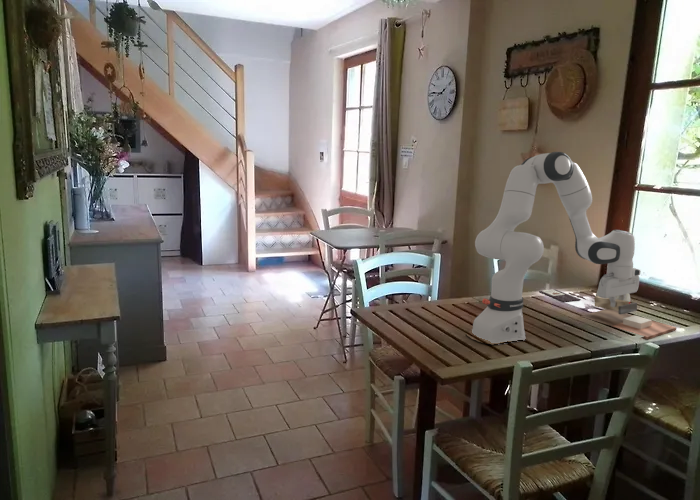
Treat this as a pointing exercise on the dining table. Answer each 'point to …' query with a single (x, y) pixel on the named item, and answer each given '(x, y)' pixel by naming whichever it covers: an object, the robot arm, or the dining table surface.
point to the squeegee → (621, 306)
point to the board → (617, 321)
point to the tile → (637, 322)
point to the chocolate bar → (559, 295)
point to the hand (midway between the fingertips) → (616, 305)
